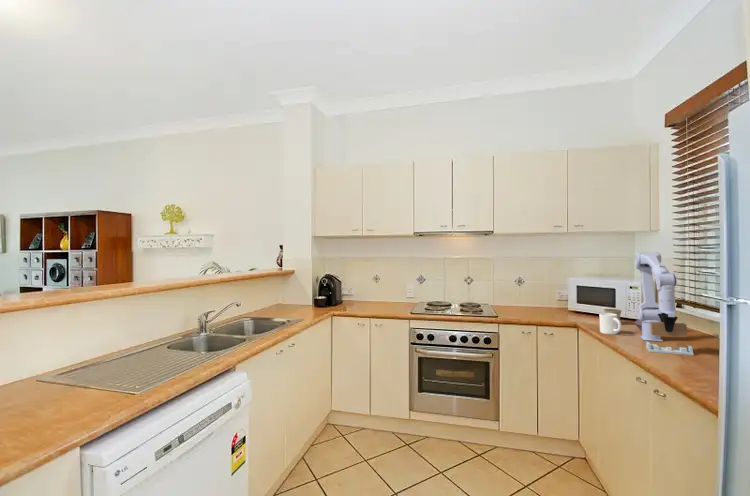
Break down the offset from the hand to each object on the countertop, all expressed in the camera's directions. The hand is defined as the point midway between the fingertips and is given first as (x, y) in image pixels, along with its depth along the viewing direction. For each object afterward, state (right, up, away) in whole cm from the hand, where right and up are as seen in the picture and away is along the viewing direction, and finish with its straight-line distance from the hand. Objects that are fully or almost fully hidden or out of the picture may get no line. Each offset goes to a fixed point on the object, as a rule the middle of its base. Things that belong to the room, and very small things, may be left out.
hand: (667, 330), depth 158 cm
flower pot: (+16, -10, +60) cm, 63 cm away
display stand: (0, -9, 0) cm, 9 cm away
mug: (-1, -10, +36) cm, 37 cm away
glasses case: (0, -2, 0) cm, 2 cm away
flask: (+22, -10, +37) cm, 44 cm away
